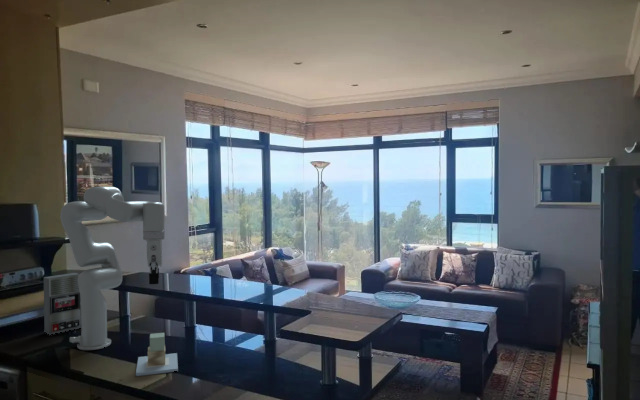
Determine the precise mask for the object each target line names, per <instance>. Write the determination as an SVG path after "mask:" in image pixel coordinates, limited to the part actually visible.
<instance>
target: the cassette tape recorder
mask: <svg viewBox="0 0 640 400" xmlns="http://www.w3.org/2000/svg"><path fill="white" fill-rule="evenodd" d="M80 274H81V273H78V272H70V273H64V274H58V275H57V274H56V275H50V276H44V277H43V318H44V319H43V320H44V321H43V322H44V325H43V326H44V330H43V333H44V332H46V333H47V334H46V333H45V334H46V335H48V334H49V335H48V336H50V335H51V334H53V335H56V334H55V333H58V334H61V333H60V332H62V333H66V332H70V331H69V330H71V331H74V329H75V330H79V328H81V298H80V291H79V287H78V277H79V275H80ZM65 331H66V332H65ZM51 336H52V335H51Z"/></svg>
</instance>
